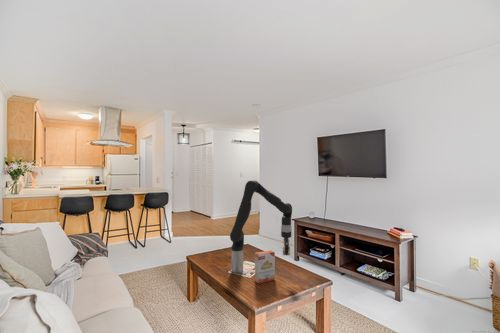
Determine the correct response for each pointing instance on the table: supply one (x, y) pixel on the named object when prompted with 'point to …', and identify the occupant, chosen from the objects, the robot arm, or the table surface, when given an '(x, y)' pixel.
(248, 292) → the table surface
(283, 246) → the metal block
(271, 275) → the cracker box
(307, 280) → the table surface
